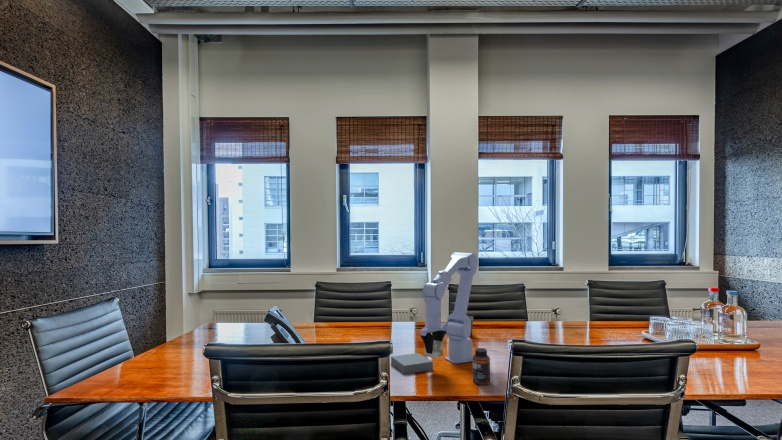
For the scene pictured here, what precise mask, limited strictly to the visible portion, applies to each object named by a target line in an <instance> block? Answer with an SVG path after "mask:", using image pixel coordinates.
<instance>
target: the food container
mask: <svg viewBox="0 0 782 440" xmlns="http://www.w3.org/2000/svg"><path fill="white" fill-rule="evenodd" d="M466 316H467V317H468V318H469V319H470V321H471V334H470V336H469V337H472V336H473V326H474V316H473V315H472V316H470V315H468V314H466ZM457 322H460V321H457ZM463 323H464V322H463Z"/></svg>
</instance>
